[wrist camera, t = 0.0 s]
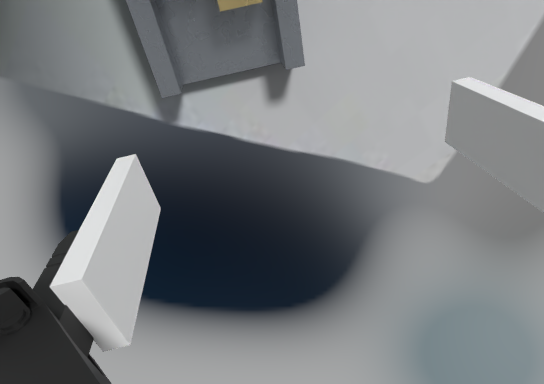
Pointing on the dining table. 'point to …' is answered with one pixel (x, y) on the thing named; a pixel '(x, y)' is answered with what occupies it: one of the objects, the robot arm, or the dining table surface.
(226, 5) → the tan yellow cube
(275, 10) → the slot rail
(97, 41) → the dining table surface
